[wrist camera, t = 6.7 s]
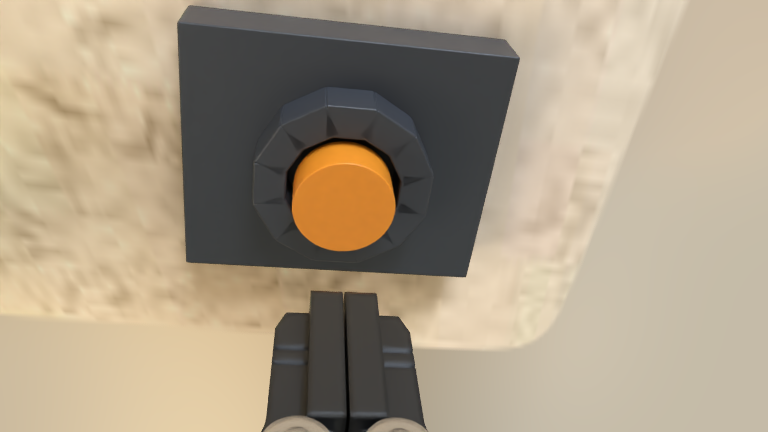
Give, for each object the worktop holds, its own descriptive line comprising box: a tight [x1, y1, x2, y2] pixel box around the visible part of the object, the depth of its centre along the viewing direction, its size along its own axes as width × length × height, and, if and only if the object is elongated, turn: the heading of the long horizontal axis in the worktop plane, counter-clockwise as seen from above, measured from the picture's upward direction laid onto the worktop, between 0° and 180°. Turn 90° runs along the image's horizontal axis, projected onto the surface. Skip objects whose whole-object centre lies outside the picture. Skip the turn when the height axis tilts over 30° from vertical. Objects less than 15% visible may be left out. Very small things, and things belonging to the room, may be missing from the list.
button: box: [292, 141, 396, 251], centre depth 23 cm, size 4×4×2 cm
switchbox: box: [177, 6, 520, 277], centre depth 25 cm, size 12×10×4 cm
